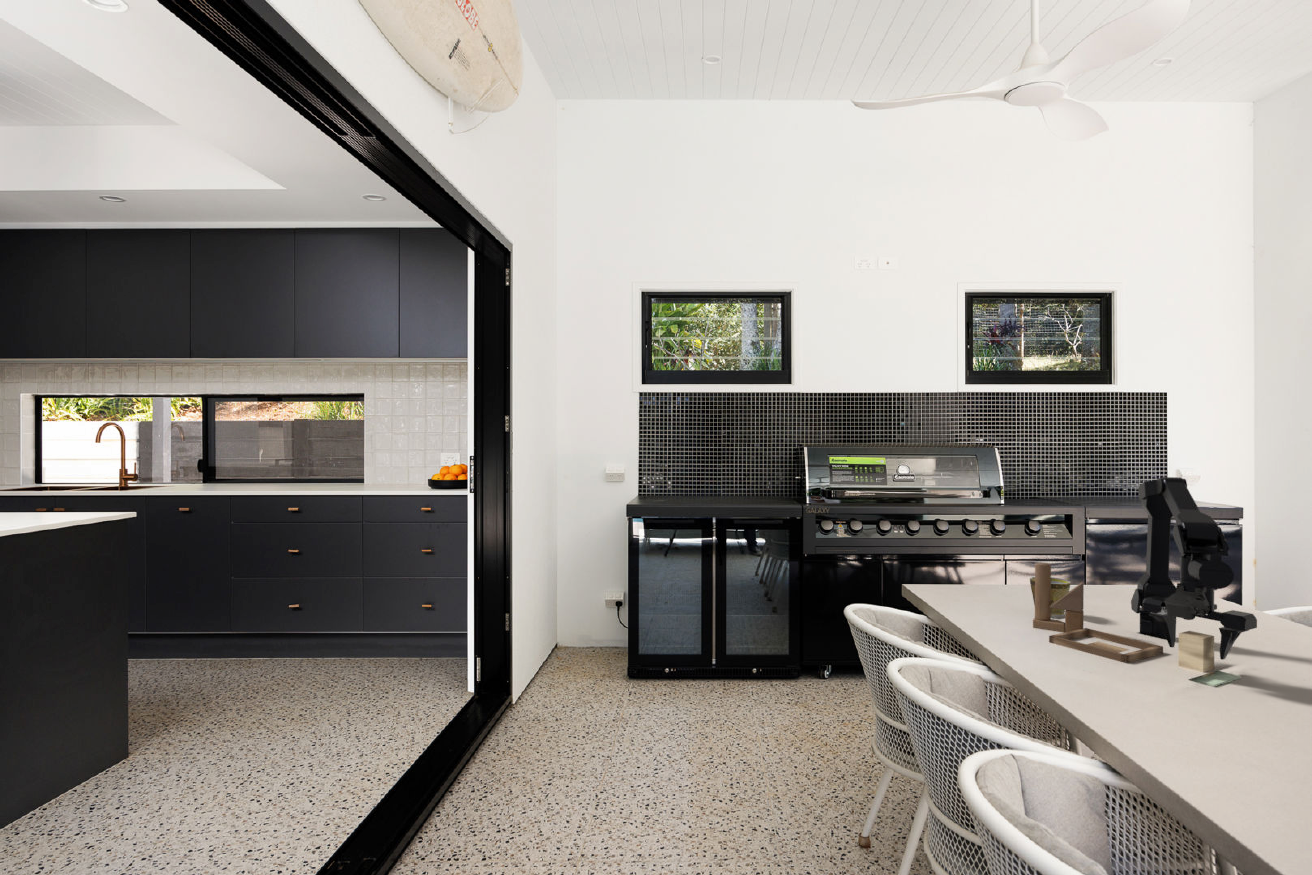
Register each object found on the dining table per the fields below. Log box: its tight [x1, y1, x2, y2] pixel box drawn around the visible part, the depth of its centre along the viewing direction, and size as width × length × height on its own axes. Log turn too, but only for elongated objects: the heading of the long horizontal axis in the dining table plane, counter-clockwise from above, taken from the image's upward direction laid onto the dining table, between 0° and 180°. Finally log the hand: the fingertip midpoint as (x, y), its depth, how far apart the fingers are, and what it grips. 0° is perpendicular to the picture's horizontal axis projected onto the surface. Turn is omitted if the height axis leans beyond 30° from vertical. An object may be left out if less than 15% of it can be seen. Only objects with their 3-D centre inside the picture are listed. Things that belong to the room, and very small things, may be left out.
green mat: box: [1187, 670, 1241, 688], centre depth 146 cm, size 11×11×1 cm
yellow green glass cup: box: [1029, 576, 1071, 619], centre depth 197 cm, size 13×10×10 cm
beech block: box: [1178, 630, 1215, 677], centre depth 146 cm, size 4×4×8 cm
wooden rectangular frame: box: [1048, 627, 1164, 664], centre depth 160 cm, size 15×17×3 cm
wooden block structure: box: [1032, 561, 1085, 633], centre depth 175 cm, size 4×11×18 cm, turn 52°
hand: (1196, 653), depth 146 cm, fingers open, 9 cm apart
